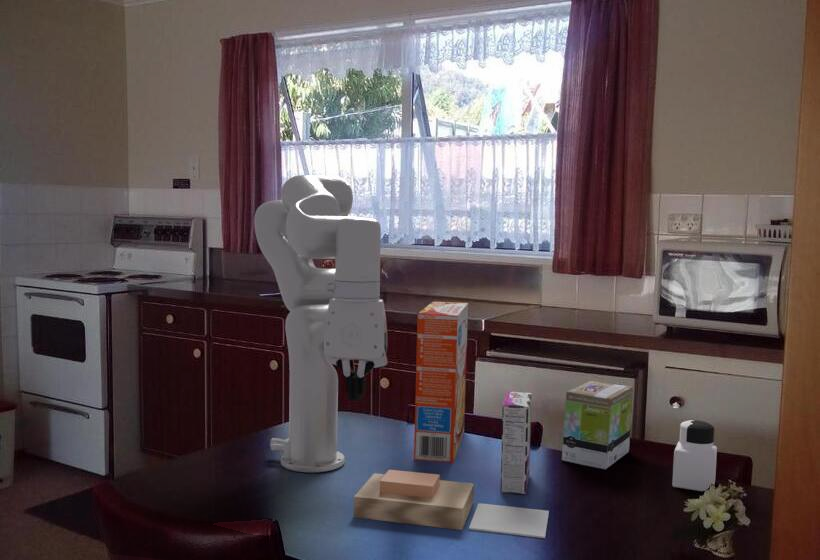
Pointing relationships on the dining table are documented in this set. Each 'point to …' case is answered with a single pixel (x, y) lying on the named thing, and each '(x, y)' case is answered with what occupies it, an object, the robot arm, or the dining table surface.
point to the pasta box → (440, 381)
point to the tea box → (597, 424)
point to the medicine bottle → (695, 456)
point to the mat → (510, 520)
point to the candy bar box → (515, 442)
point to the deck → (416, 505)
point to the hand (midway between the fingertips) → (355, 398)
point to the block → (410, 483)
